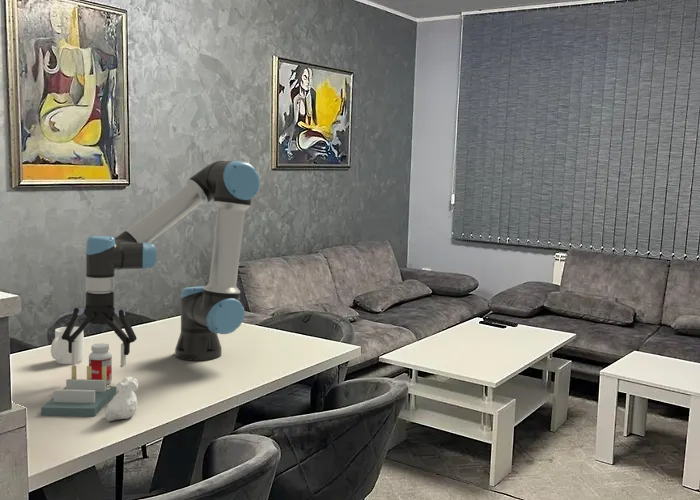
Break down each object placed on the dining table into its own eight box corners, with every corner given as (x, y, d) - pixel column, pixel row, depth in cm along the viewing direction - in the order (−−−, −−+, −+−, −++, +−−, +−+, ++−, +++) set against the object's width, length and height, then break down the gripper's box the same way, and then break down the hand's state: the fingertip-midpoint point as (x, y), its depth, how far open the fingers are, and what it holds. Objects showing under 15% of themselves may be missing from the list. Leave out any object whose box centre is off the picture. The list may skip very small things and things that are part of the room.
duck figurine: (112, 434, 168) (140, 400, 166) (88, 413, 168) (116, 379, 166) (134, 417, 180) (160, 385, 178) (111, 398, 180) (137, 366, 178)
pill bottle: (84, 382, 199) (84, 344, 198) (104, 378, 204) (104, 341, 203) (96, 387, 195) (96, 349, 194) (116, 383, 200) (116, 345, 199)
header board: (116, 393, 191) (116, 364, 190) (94, 416, 173) (94, 384, 172) (67, 392, 190) (67, 363, 190) (41, 415, 173) (40, 383, 172)
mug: (62, 369, 212) (62, 335, 211) (40, 365, 215) (40, 332, 213) (89, 359, 223) (89, 328, 222) (68, 356, 226) (68, 325, 225)
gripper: (148, 290, 201) (146, 363, 203) (59, 287, 200) (59, 360, 202) (141, 295, 194) (140, 370, 196) (49, 291, 192) (49, 366, 195)
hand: (99, 365), depth 199 cm, fingers open, 13 cm apart
